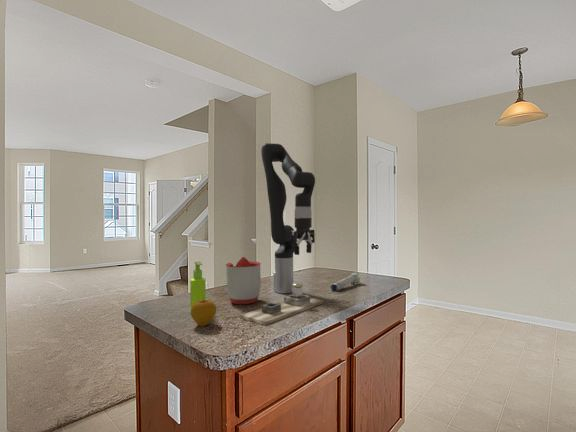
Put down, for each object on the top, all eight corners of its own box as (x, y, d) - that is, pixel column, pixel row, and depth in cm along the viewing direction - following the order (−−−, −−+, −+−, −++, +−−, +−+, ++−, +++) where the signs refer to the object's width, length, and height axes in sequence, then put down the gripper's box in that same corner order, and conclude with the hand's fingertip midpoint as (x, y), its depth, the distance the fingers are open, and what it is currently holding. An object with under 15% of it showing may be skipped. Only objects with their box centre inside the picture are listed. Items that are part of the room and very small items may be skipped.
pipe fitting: (290, 303, 137) (289, 284, 137) (296, 300, 140) (296, 282, 140) (298, 304, 134) (298, 285, 134) (305, 302, 137) (304, 283, 137)
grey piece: (329, 283, 163) (352, 269, 182) (330, 296, 164) (353, 281, 183) (338, 284, 160) (361, 270, 179) (339, 297, 160) (362, 282, 180)
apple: (220, 326, 113) (220, 300, 113) (195, 331, 108) (194, 304, 108) (211, 319, 121) (211, 295, 121) (187, 323, 116) (187, 298, 116)
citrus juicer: (249, 294, 157) (248, 253, 157) (268, 302, 143) (267, 257, 143) (218, 300, 148) (218, 256, 148) (236, 308, 134) (235, 260, 134)
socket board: (240, 318, 122) (240, 307, 121) (299, 298, 149) (299, 290, 149) (265, 325, 113) (265, 314, 113) (323, 303, 141) (323, 294, 141)
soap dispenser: (192, 315, 126) (192, 263, 126) (189, 310, 132) (188, 261, 132) (207, 313, 129) (207, 262, 129) (203, 308, 135) (203, 260, 135)
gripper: (306, 216, 151) (306, 251, 151) (286, 217, 140) (285, 254, 141) (319, 217, 146) (319, 252, 146) (299, 217, 136) (299, 256, 136)
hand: (302, 253), depth 144 cm, fingers open, 8 cm apart
